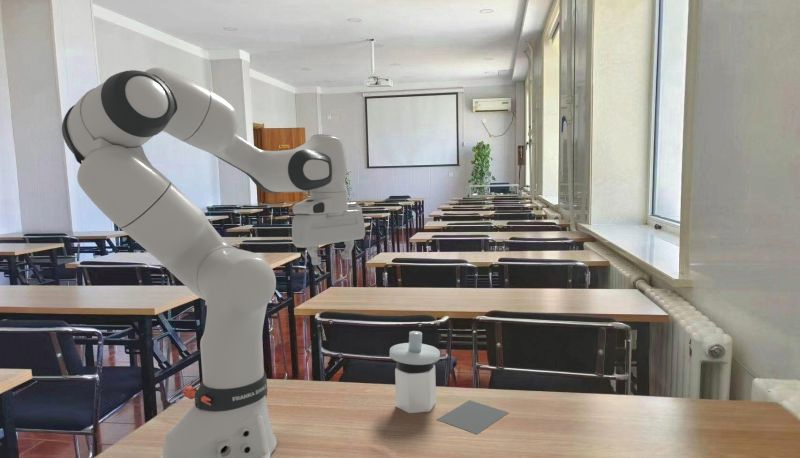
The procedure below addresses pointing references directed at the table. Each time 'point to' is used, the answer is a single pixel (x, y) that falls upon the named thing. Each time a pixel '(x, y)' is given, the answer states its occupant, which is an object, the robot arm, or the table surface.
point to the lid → (414, 351)
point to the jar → (415, 387)
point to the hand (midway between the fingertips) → (331, 261)
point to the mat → (472, 416)
